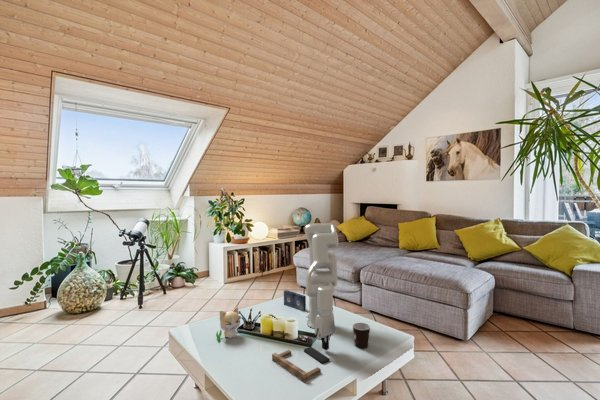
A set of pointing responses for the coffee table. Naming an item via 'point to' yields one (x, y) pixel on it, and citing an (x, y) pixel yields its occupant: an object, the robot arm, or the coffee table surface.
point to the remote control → (317, 355)
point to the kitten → (229, 323)
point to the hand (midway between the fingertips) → (325, 348)
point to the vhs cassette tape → (295, 300)
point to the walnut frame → (293, 366)
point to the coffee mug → (361, 335)
